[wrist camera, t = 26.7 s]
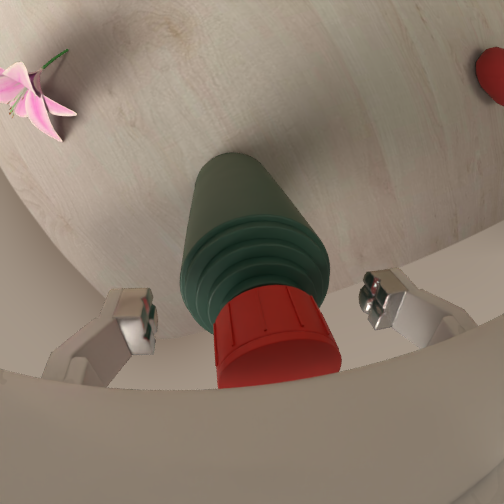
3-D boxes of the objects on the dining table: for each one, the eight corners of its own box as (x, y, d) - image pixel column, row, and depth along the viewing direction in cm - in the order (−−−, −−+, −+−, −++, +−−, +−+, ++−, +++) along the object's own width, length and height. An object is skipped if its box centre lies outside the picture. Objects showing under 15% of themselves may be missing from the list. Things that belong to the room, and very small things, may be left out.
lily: (7, 70, 13) (-54, 127, 8) (63, -17, 8) (-23, 18, 3) (71, 130, 22) (25, 197, 17) (142, 60, 17) (82, 118, 12)
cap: (209, 288, 8) (211, 346, 6) (326, 278, 9) (356, 329, 7) (218, 362, 10) (222, 414, 8) (310, 352, 11) (327, 398, 9)
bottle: (268, 221, 26) (346, 395, 10) (197, 225, 25) (190, 417, 9) (270, 151, 22) (399, 270, 7) (192, 154, 22) (147, 292, 6)
